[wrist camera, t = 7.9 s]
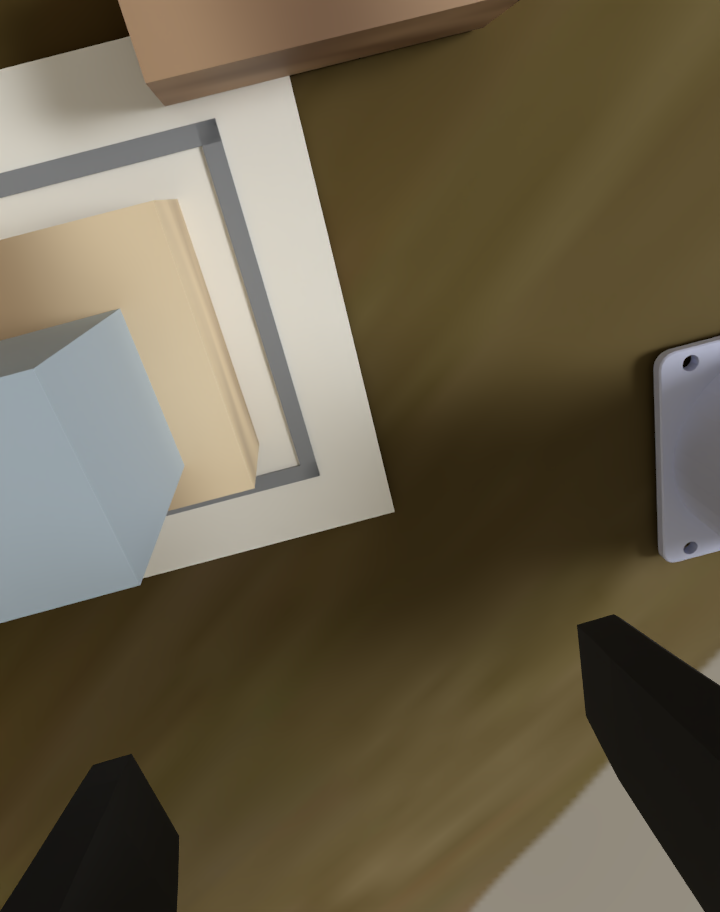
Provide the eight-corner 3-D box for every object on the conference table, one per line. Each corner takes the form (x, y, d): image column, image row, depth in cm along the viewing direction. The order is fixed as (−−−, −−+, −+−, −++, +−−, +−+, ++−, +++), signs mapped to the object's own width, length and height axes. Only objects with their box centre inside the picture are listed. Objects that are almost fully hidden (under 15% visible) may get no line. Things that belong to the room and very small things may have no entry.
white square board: (271, 4, 14) (270, -2, 14) (393, 507, 20) (394, 513, 20) (-311, 152, 14) (-327, 151, 14) (-18, 615, 20) (-23, 623, 19)
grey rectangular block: (120, 308, 13) (34, 368, 9) (184, 465, 15) (140, 585, 10) (-55, 355, 13) (-233, 440, 9) (29, 507, 15) (-84, 645, 10)
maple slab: (177, 198, 15) (153, 200, 13) (259, 443, 18) (254, 488, 15) (-91, 268, 15) (-174, 284, 12) (34, 502, 18) (-11, 557, 15)
